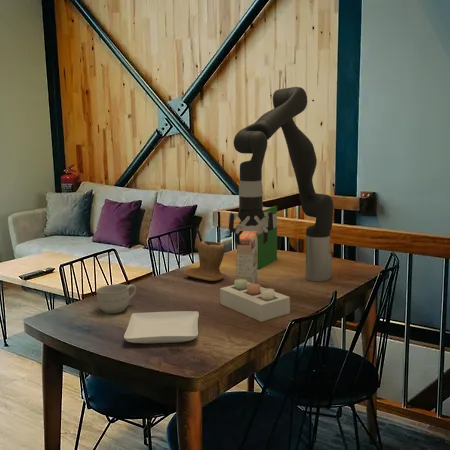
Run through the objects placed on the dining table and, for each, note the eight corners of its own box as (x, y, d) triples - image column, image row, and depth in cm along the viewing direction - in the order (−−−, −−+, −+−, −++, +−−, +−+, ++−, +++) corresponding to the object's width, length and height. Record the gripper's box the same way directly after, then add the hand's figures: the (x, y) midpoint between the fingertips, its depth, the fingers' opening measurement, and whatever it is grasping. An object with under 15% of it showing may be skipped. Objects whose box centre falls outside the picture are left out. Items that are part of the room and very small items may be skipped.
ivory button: (268, 295, 188) (268, 287, 188) (277, 298, 185) (277, 290, 184) (258, 298, 186) (257, 290, 185) (266, 301, 182) (266, 293, 182)
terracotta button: (254, 290, 194) (254, 282, 193) (263, 293, 190) (263, 285, 190) (244, 292, 191) (244, 285, 191) (252, 296, 188) (252, 288, 187)
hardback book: (261, 258, 257) (261, 205, 252) (277, 259, 253) (276, 206, 248) (243, 267, 242) (242, 211, 237) (259, 269, 238) (258, 212, 233)
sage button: (242, 285, 199) (241, 278, 199) (249, 288, 196) (249, 280, 195) (231, 287, 197) (231, 280, 196) (239, 291, 193) (239, 283, 193)
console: (247, 296, 204) (247, 281, 203) (289, 313, 187) (289, 297, 186) (220, 303, 197) (219, 288, 196) (261, 321, 180) (261, 305, 179)
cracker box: (253, 296, 204) (252, 238, 200) (236, 295, 206) (235, 238, 202) (258, 284, 218) (258, 230, 214) (243, 283, 219) (242, 230, 215)
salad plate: (132, 322, 183) (131, 311, 182) (199, 320, 183) (198, 309, 183) (123, 349, 162) (122, 337, 161) (198, 346, 163) (198, 335, 162)
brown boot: (231, 277, 227) (230, 240, 224) (212, 285, 218) (211, 246, 215) (202, 271, 237) (201, 236, 234) (182, 278, 228) (181, 241, 225)
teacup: (102, 318, 185) (100, 294, 184) (93, 308, 195) (92, 286, 193) (143, 310, 192) (142, 287, 190) (133, 301, 201) (131, 279, 200)
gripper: (270, 192, 188) (270, 240, 191) (227, 193, 186) (227, 242, 189) (275, 195, 180) (275, 245, 184) (230, 196, 179) (231, 247, 182)
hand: (251, 243), depth 186 cm, fingers open, 8 cm apart
